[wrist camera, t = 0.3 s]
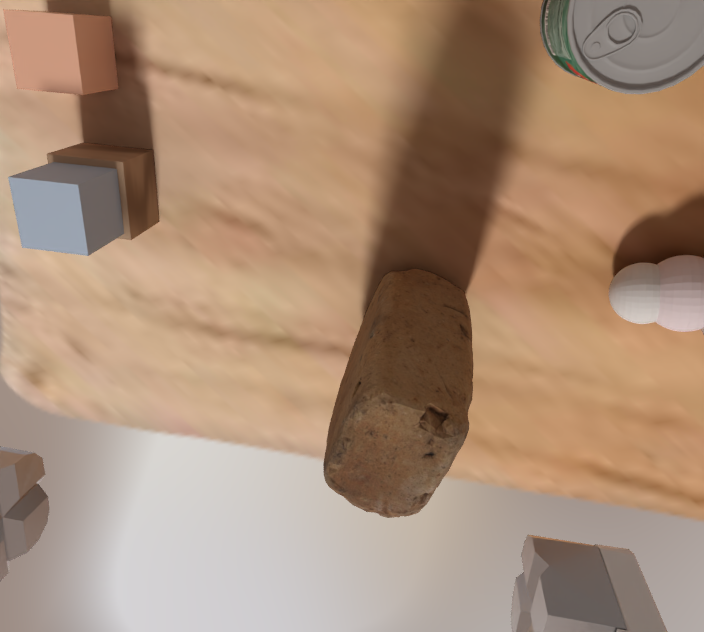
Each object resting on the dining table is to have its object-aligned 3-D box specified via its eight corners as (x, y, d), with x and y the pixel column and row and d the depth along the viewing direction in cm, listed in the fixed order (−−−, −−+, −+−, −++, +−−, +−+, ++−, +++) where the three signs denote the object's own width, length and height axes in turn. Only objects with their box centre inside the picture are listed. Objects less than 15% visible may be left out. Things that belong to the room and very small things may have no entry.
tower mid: (53, 162, 44) (8, 177, 39) (116, 168, 43) (78, 184, 39) (64, 226, 46) (22, 247, 41) (124, 233, 45) (88, 255, 41)
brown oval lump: (395, 246, 48) (361, 375, 30) (478, 285, 48) (493, 435, 30) (344, 349, 52) (289, 513, 35) (419, 384, 53) (403, 563, 35)
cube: (48, 11, 44) (3, 9, 39) (111, 16, 43) (72, 15, 39) (59, 82, 46) (17, 88, 42) (119, 88, 45) (83, 94, 41)
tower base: (84, 142, 48) (46, 153, 43) (154, 149, 47) (122, 161, 43) (93, 213, 51) (59, 231, 46) (159, 221, 50) (131, 239, 45)
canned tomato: (632, -88, 36) (700, -132, 26) (688, 27, 38) (770, 26, 28) (516, 0, 39) (538, -10, 29) (574, 103, 41) (612, 125, 31)
